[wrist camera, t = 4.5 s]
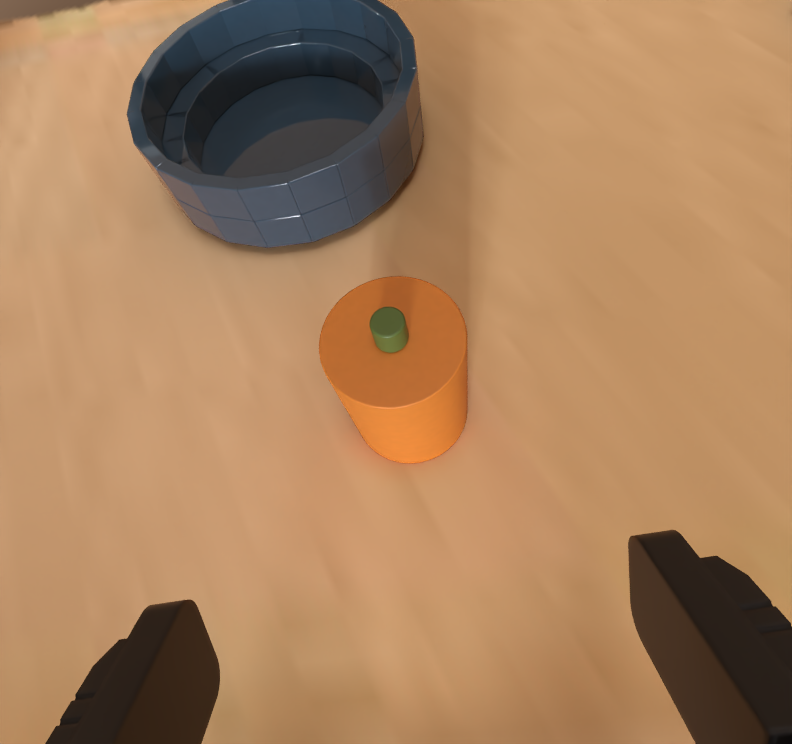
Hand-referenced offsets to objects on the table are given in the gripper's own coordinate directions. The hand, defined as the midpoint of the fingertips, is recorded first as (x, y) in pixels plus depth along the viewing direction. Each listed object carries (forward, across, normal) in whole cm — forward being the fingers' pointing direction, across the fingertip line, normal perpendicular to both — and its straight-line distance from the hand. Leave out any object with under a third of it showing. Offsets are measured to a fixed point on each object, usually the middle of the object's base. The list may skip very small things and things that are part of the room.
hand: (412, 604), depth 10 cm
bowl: (+28, +5, -10) cm, 30 cm away
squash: (+15, 0, +3) cm, 15 cm away
